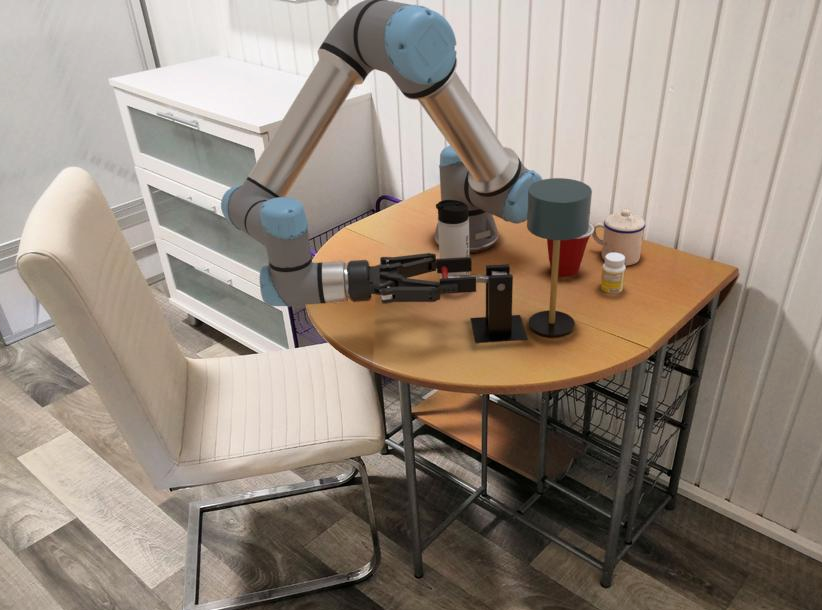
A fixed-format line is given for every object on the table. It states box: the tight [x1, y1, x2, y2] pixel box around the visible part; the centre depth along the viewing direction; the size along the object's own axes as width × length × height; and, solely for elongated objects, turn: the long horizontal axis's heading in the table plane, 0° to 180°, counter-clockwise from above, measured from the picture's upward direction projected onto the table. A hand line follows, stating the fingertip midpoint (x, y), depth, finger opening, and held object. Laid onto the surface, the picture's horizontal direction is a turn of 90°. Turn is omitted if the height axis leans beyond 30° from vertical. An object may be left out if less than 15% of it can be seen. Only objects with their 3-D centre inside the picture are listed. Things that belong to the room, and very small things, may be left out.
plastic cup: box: [546, 222, 594, 278], centre depth 160 cm, size 11×11×12 cm
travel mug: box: [435, 200, 471, 280], centre depth 153 cm, size 6×7×20 cm
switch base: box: [470, 263, 528, 344], centre depth 140 cm, size 10×9×14 cm
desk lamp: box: [526, 177, 593, 339], centre depth 137 cm, size 11×11×29 cm
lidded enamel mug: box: [591, 208, 646, 267], centre depth 167 cm, size 12×9×12 cm
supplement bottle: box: [600, 253, 627, 294], centre depth 154 cm, size 5×5×8 cm
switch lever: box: [441, 266, 507, 284], centre depth 137 cm, size 12×7×2 cm, turn 96°
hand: (473, 274), depth 136 cm, fingers closed on switch lever, 7 cm apart
